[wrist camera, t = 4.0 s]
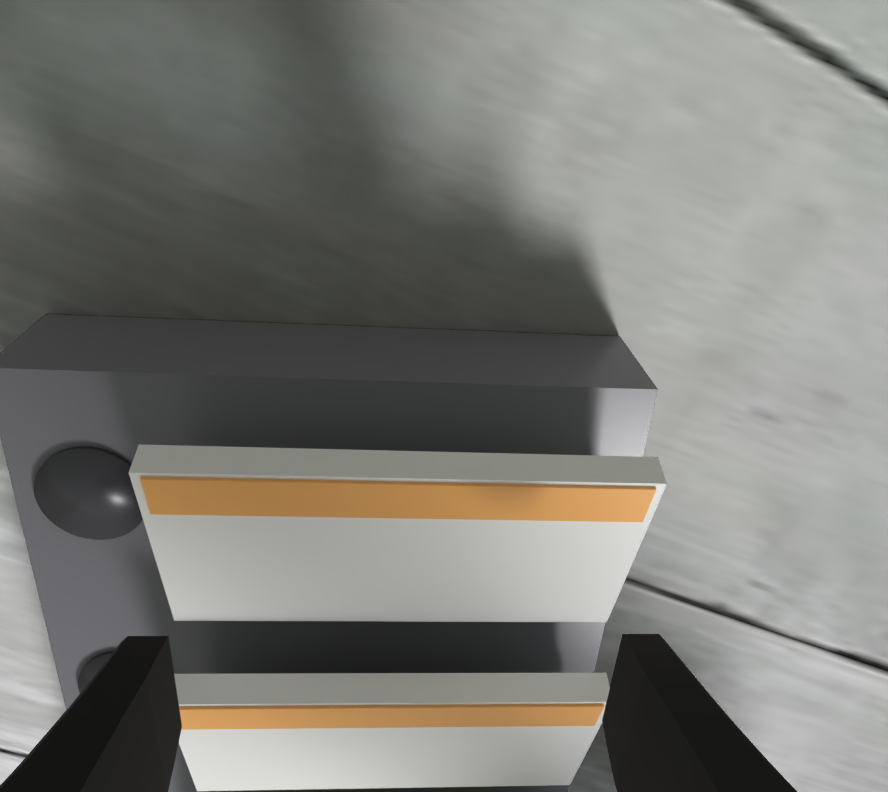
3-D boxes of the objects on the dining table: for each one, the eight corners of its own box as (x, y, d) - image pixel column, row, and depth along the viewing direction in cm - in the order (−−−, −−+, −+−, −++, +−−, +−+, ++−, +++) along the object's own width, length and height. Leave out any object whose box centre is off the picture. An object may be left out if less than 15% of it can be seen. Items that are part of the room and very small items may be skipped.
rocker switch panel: (532, 790, 27) (549, 880, 24) (138, 796, 26) (108, 892, 23) (620, 336, 19) (660, 392, 16) (45, 313, 17) (-20, 370, 15)
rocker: (597, 582, 18) (607, 624, 17) (184, 578, 17) (173, 623, 16) (652, 442, 15) (668, 486, 14) (143, 429, 14) (126, 475, 13)
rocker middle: (563, 744, 21) (570, 787, 20) (205, 748, 20) (196, 793, 19) (603, 656, 18) (613, 704, 17) (175, 657, 17) (163, 707, 16)
